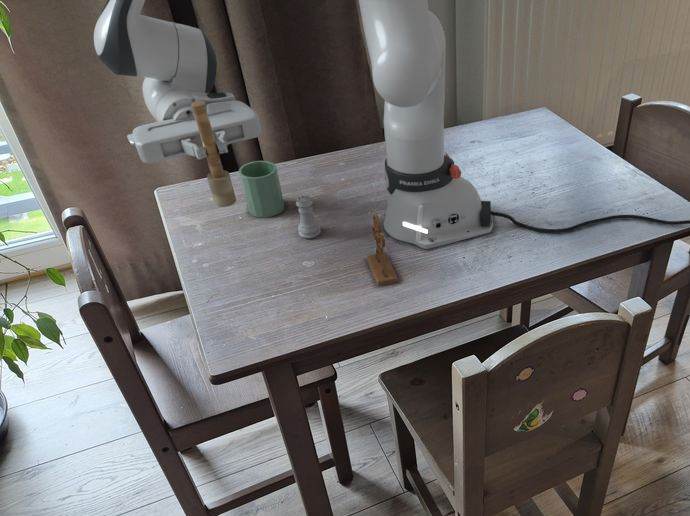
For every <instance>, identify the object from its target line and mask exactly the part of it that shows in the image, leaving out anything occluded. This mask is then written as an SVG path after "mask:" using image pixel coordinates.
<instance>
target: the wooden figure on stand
mask: <svg viewBox="0 0 690 516" xmlns="http://www.w3.org/2000/svg"><path fill="white" fill-rule="evenodd" d="M372 220H373V225H372V227H371V233H372V238H373V240H374V241H375V253H374V254H369V255H366V262H367V264H368V267H369V270H370V272H371V274H372V276H373V279H374V281H375V283H376V285H377V287H383V286H388V285H393V284H398V282H399V278H398V275H397V274H396V272H395V270H394V267H393V265H392V263H391V261H390V259H389V256H388V254H387V253H386V252H384V248H386V238H385V234H384V232H383V230H382V224H381V219H380V216H379V214H378V213H374V214H372Z"/></svg>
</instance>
